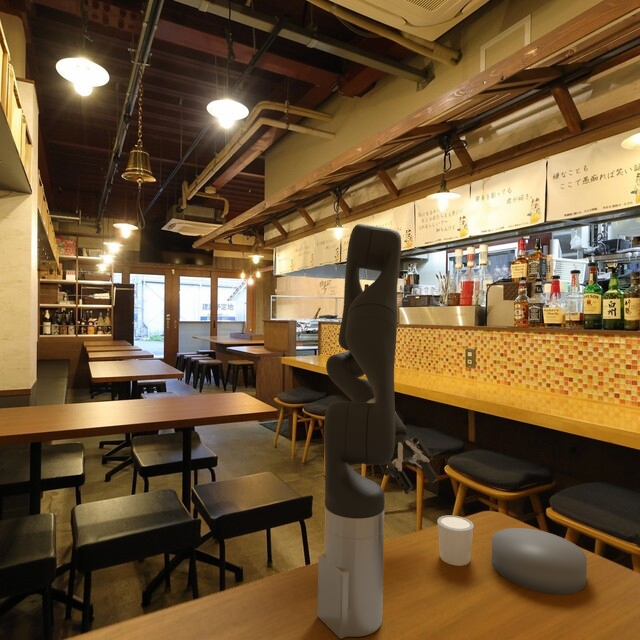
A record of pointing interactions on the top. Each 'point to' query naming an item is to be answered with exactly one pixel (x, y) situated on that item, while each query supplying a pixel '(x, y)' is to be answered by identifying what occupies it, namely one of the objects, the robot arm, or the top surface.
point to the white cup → (455, 539)
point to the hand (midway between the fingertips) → (422, 485)
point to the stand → (539, 561)
